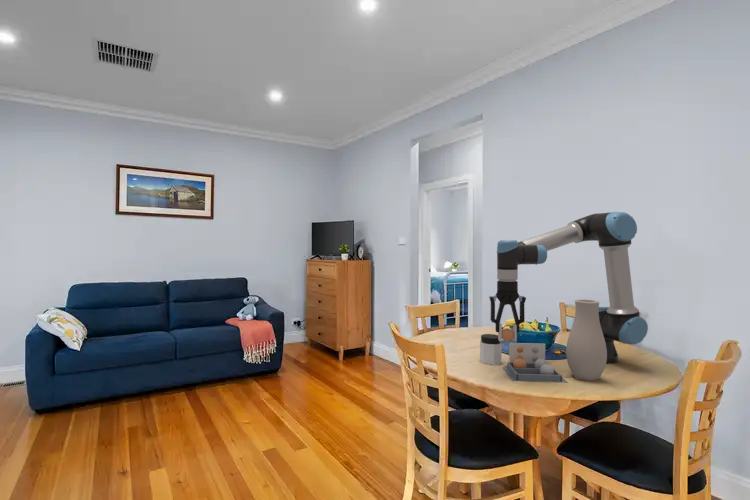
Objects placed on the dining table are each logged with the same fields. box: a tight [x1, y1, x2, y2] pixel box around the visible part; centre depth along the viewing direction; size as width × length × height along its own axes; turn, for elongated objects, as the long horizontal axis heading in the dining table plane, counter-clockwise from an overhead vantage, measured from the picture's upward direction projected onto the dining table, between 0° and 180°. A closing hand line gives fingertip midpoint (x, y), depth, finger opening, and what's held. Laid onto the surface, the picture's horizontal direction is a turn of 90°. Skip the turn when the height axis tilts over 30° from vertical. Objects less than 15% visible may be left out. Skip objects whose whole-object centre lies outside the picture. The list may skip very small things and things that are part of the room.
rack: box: [501, 342, 569, 384], centre depth 160 cm, size 20×17×11 cm
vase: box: [565, 298, 607, 382], centre depth 157 cm, size 14×14×30 cm
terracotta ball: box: [513, 358, 527, 368], centre depth 164 cm, size 5×5×5 cm
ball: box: [502, 327, 514, 343], centre depth 160 cm, size 5×5×5 cm
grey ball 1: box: [534, 359, 548, 369], centre depth 163 cm, size 5×5×5 cm
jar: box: [479, 333, 503, 366], centre depth 176 cm, size 9×8×12 cm
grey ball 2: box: [540, 363, 555, 375], centre depth 156 cm, size 5×5×5 cm
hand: (507, 340), depth 160 cm, fingers closed on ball, 5 cm apart
